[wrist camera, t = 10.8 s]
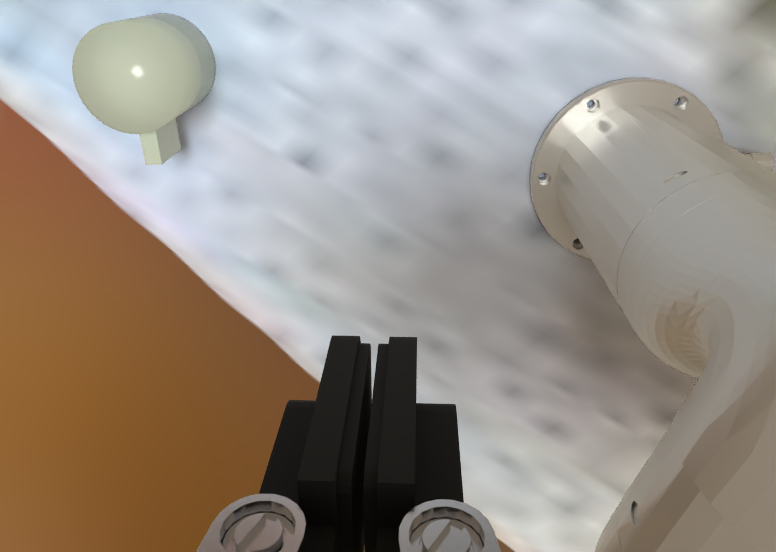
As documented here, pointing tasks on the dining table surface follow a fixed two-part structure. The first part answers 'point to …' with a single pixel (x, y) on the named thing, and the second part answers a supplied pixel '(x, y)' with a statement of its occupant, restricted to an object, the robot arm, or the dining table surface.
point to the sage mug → (144, 77)
